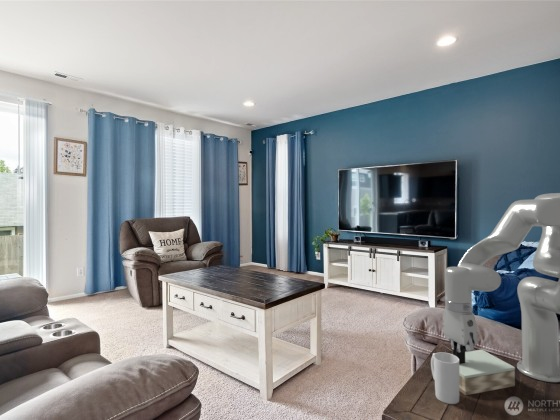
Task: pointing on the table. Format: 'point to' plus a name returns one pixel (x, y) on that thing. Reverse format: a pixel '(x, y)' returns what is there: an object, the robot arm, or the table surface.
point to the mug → (446, 377)
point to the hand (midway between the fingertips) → (459, 362)
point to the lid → (482, 364)
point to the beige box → (486, 382)
